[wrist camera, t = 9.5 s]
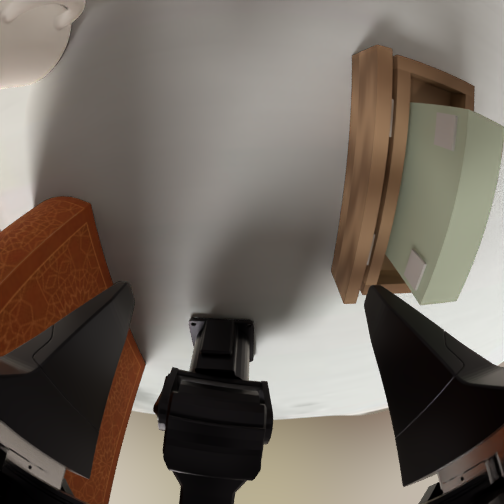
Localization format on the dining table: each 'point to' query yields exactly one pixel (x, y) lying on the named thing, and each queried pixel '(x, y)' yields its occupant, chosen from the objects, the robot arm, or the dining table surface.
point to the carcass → (381, 161)
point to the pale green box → (443, 198)
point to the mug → (33, 38)
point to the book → (65, 312)
